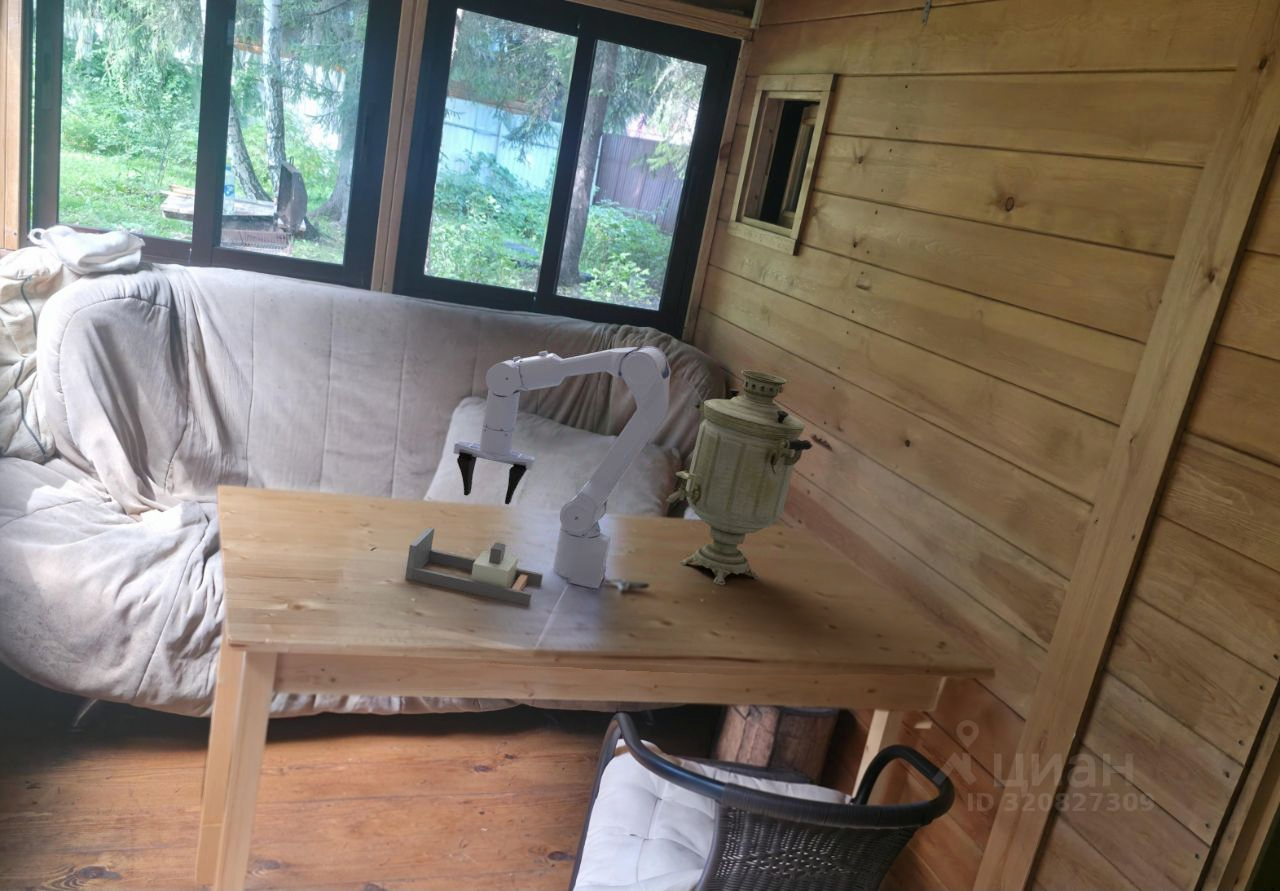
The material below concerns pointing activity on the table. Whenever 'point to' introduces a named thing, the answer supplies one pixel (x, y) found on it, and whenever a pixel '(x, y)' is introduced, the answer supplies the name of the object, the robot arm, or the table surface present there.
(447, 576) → the bay
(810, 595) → the table surface
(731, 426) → the samovar
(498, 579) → the pale green knobbed block
